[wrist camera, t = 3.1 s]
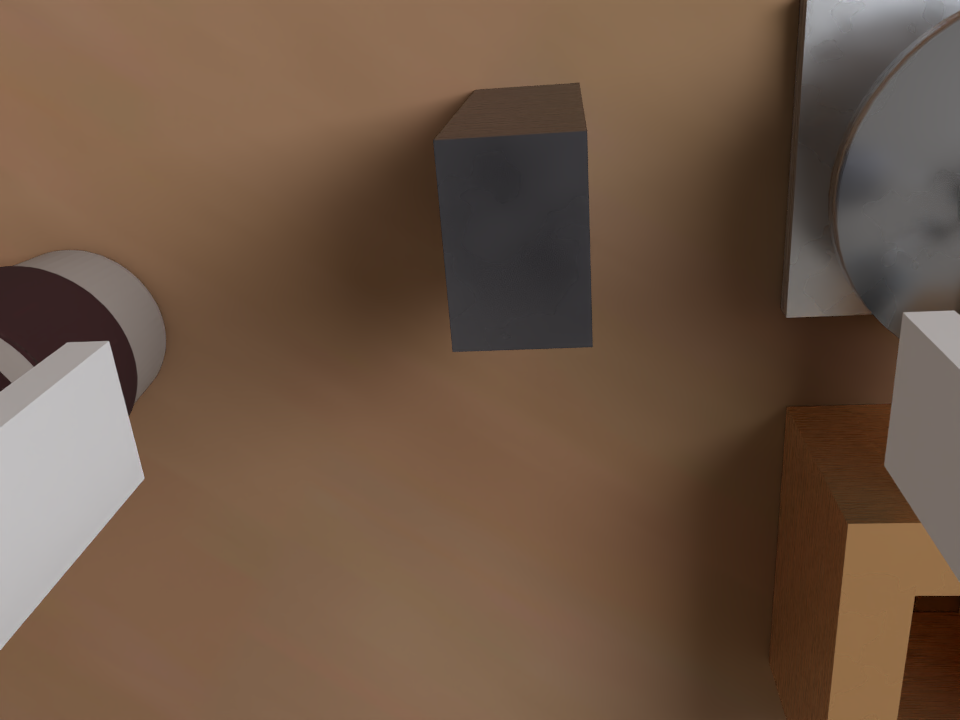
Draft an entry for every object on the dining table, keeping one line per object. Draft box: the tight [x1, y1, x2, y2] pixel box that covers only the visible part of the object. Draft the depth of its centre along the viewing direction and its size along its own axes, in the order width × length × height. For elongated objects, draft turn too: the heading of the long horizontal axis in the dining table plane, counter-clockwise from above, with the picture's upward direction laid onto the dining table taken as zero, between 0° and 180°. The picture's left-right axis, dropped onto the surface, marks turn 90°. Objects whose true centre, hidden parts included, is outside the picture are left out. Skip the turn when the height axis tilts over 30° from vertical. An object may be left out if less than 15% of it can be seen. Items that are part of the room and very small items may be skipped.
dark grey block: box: [433, 83, 593, 352], centre depth 29 cm, size 4×6×12 cm, turn 4°
